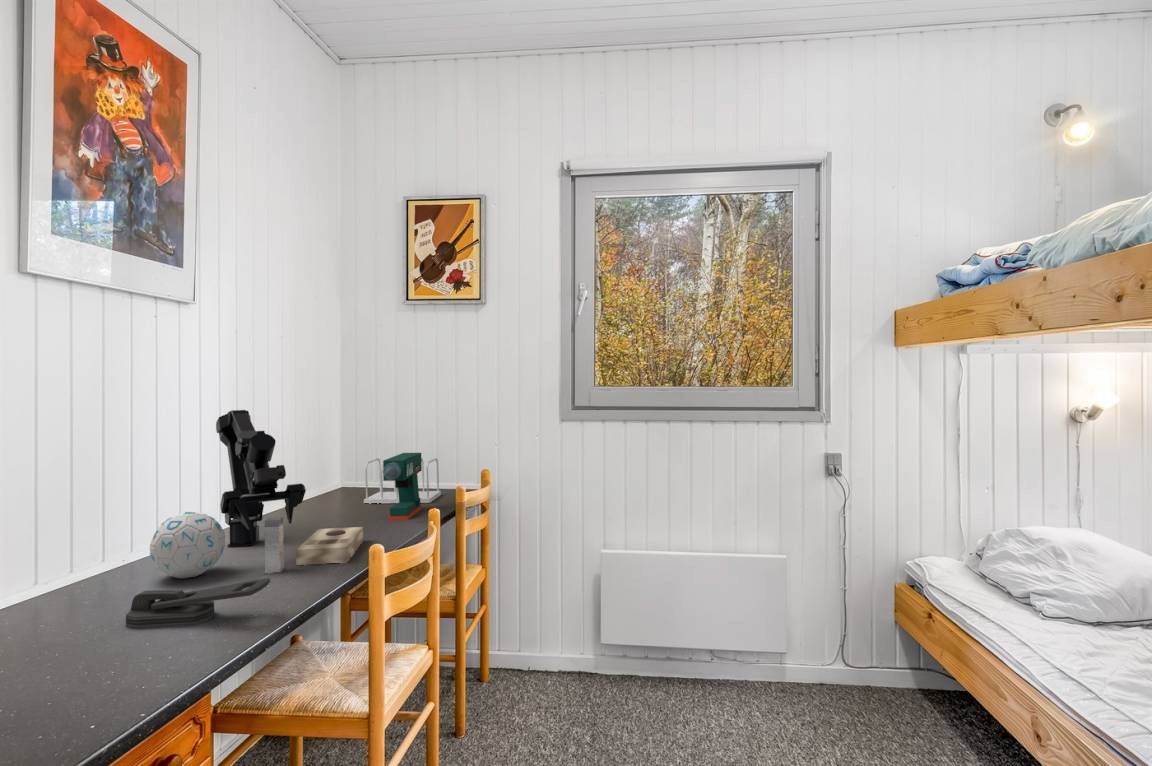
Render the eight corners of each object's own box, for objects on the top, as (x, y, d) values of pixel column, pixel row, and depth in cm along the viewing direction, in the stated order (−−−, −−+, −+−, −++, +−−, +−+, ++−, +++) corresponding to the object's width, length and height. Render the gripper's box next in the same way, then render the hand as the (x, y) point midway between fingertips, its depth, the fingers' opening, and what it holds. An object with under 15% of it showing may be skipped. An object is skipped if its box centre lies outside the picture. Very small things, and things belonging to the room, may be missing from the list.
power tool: (396, 529, 190) (395, 464, 190) (373, 529, 190) (372, 464, 190) (423, 508, 222) (423, 452, 222) (404, 508, 222) (403, 452, 222)
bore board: (296, 565, 153) (296, 548, 153) (318, 543, 175) (318, 528, 175) (347, 563, 155) (346, 546, 155) (363, 540, 177) (362, 526, 177)
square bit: (265, 573, 148) (264, 521, 148) (269, 569, 151) (269, 518, 151) (279, 572, 148) (278, 520, 148) (283, 568, 151) (283, 517, 151)
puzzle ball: (212, 583, 141) (211, 517, 141) (137, 589, 137) (136, 521, 137) (234, 564, 155) (233, 504, 155) (166, 569, 152) (166, 508, 152)
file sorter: (441, 495, 248) (440, 456, 248) (430, 504, 230) (429, 462, 230) (378, 496, 248) (378, 457, 248) (363, 504, 231) (362, 462, 231)
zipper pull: (252, 591, 116) (116, 593, 115) (253, 626, 116) (117, 629, 115) (274, 575, 125) (148, 578, 124) (275, 608, 125) (149, 611, 124)
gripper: (221, 458, 150) (232, 511, 142) (303, 452, 162) (316, 500, 153) (216, 487, 156) (225, 539, 148) (294, 479, 168) (307, 526, 159)
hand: (270, 525), depth 152 cm, fingers open, 9 cm apart
